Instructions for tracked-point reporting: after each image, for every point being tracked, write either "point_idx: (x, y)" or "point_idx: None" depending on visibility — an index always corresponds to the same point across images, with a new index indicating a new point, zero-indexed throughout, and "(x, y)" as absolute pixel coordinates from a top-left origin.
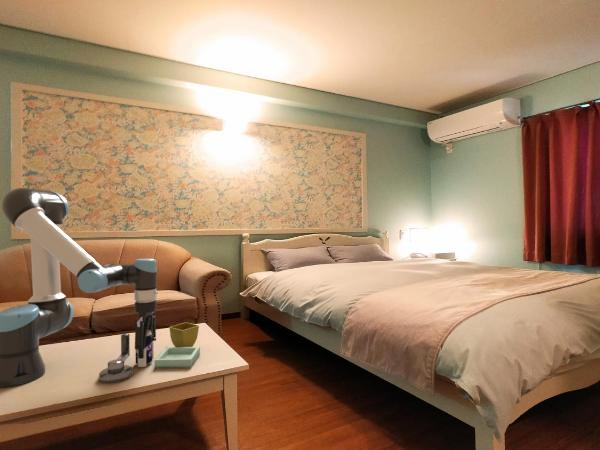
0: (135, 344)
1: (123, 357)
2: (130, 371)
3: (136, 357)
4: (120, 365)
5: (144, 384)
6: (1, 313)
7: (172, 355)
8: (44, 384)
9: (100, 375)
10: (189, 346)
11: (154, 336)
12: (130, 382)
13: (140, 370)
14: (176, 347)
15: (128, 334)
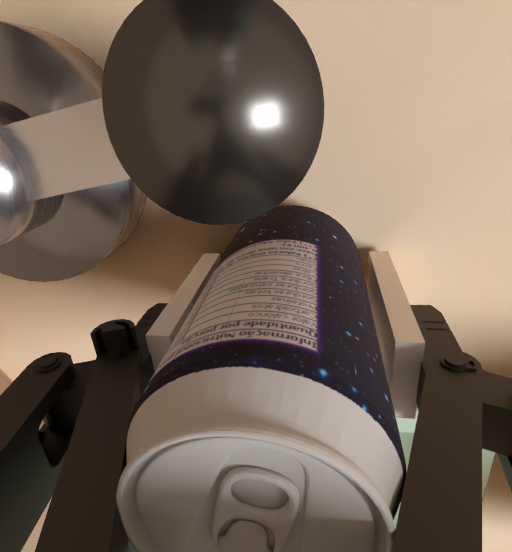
0: (3, 401)
1: (120, 165)
2: (37, 280)
3: (227, 250)
4: None
5: (8, 370)
6: None
7: (400, 432)
8: None
9: None
10: None
11: (501, 454)
12: (3, 293)
13: (171, 283)
14: (482, 481)
15: (218, 208)
